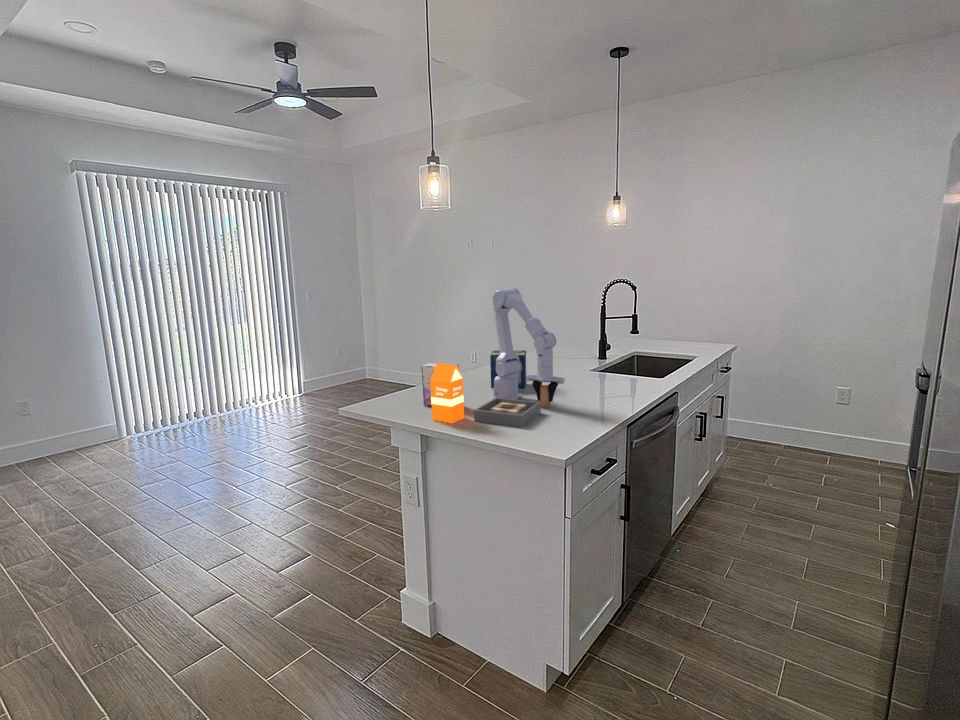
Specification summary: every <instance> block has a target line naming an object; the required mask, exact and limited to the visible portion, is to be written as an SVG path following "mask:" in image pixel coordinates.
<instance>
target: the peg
mask: <svg viewBox="0 0 960 720" xmlns="http://www.w3.org/2000/svg"><path fill="white" fill-rule="evenodd" d="M539 402H540V409H549V408H551V406H552V404H551V403H552V402H549V387H548V384H547V385H546V384H542V386H540V401H539Z"/></svg>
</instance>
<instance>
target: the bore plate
mask: <svg viewBox="0 0 960 720" xmlns="http://www.w3.org/2000/svg"><path fill="white" fill-rule="evenodd" d="M526 410H527V405H525V404H516V403H506V402H501V403H499V404H498V405H496V406H495V407H493V408H491V409H490V411H492V412H501V413H509V414H518V415H520V414H522V413H523V412H524V411H526Z"/></svg>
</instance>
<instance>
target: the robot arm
mask: <svg viewBox="0 0 960 720" xmlns="http://www.w3.org/2000/svg"><path fill="white" fill-rule="evenodd" d="M491 299H492V304H493V316H494V322H495V329H496V334H497V335H496V336H497V342H498V347H499V348H498V350H499V351H500V355H499V356H498V357H497V359H496V373H497V374H498V376H496V377H495V379H494V389H493V399H494V398H505V399H515V400H519V398H521V397H522V395H523V394H519V389H518V376H519V373H520V372H521V370H522V365H521V362H520V360H519V356H518V355H517V354H516V353H514V351H515V350H514V346H513V339H512V332H511V326H510V319H509V312H510V311H511V310H512V309H513V310H514V311H515V312H516V313H517V314H518V315H519V317H520V318H521V319H522V320H523V321H524V323H525V325H524V328H525V329H526V330H527V332H528V333H529V335H530V336H531V338H532V339H533V345H534V348H535V349H536V350H535V351H536V354H537V357H536V358H537V359H536V360H537V361H536V362H537V365H536V366H537V375H533V374H532V375H529V374H528V375H526V381H527V382H531V386H532V387H533V389H534V392H535V394H536V398H537V402H540V386H542V385H543V383H548V384H547V385H548V387H549V402H551V403H552V402H554V396H555V393H556V390H557V387H558V386H559V384H560V385H564V384H565V377H560V376H554V373H553V372H554V366H553V365H554V360H553V359H554V351H553V350H554V349H553V348H554V347H555V346H556V345H557V338H556V336H555V334H554V333H552V332H549V330H547V329H546V328H545V326H544V325H543V324H542V321H541V319H539V318H537V317H534V316H533V315H532V314H531V312H530V310H529V309H528V307H527V305H526V304H525V302H524V301H523V294H522V293H521V292H520V291H519V289H518V288H508V289H507V288H506V289H505V288H504V289H497V290H495V292H494V293H493V294H492V298H491ZM508 359H509V360H508ZM506 360H508V361H506Z"/></svg>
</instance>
